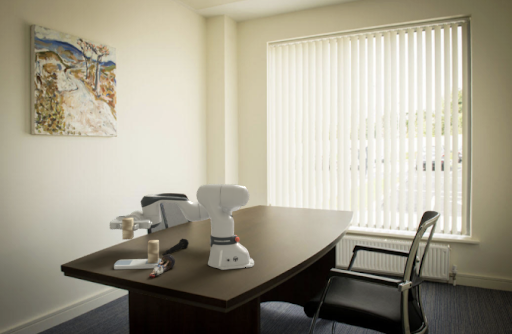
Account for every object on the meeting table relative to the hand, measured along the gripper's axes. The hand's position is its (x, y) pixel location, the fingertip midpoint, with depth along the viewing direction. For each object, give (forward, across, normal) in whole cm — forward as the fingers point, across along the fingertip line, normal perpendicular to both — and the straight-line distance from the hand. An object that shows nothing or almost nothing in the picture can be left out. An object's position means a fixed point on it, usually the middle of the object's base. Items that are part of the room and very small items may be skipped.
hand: (127, 227), depth 187 cm
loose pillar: (-1, 0, -6) cm, 6 cm away
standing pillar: (+10, -14, -15) cm, 23 cm away
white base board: (+10, -7, -16) cm, 20 cm away
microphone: (-14, -22, -17) cm, 31 cm away
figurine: (+21, -19, -17) cm, 32 cm away
